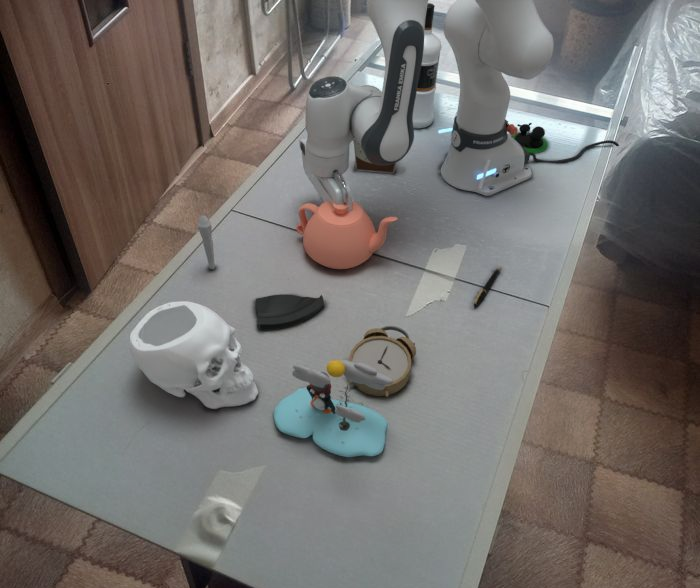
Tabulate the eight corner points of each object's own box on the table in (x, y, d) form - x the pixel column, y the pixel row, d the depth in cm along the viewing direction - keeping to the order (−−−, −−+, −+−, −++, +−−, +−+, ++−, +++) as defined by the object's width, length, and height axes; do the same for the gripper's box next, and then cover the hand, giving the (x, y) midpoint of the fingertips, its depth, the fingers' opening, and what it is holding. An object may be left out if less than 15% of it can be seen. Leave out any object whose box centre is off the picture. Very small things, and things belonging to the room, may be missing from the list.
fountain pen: (497, 267, 140) (498, 261, 139) (502, 269, 140) (504, 263, 139) (470, 308, 132) (472, 302, 131) (476, 310, 132) (477, 305, 131)
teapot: (403, 242, 144) (408, 196, 135) (380, 288, 135) (384, 241, 125) (310, 218, 149) (310, 171, 140) (282, 261, 139) (279, 213, 130)
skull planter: (247, 428, 109) (185, 346, 98) (166, 425, 120) (101, 350, 109) (283, 369, 118) (230, 287, 107) (204, 371, 129) (148, 297, 118)
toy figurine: (533, 129, 177) (538, 109, 172) (555, 148, 171) (561, 128, 167) (502, 136, 174) (506, 116, 170) (523, 156, 168) (528, 136, 164)
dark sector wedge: (328, 324, 128) (328, 318, 127) (258, 331, 126) (257, 325, 125) (322, 294, 133) (322, 288, 132) (254, 300, 131) (254, 294, 130)
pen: (216, 273, 136) (207, 219, 126) (203, 271, 137) (193, 217, 126) (220, 265, 138) (211, 211, 127) (208, 263, 138) (198, 209, 128)
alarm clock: (338, 375, 116) (370, 310, 123) (339, 388, 120) (370, 324, 127) (397, 396, 113) (426, 328, 120) (397, 409, 118) (425, 342, 125)
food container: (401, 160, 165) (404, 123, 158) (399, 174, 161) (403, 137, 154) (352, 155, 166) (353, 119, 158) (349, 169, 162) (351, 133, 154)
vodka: (402, 109, 181) (414, -6, 159) (435, 114, 180) (452, -1, 157) (395, 126, 175) (406, 9, 153) (429, 132, 174) (445, 15, 151)
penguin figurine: (264, 429, 112) (258, 373, 100) (293, 384, 118) (290, 327, 107) (372, 473, 107) (378, 420, 95) (396, 424, 113) (405, 369, 102)
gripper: (361, 183, 130) (358, 238, 140) (324, 130, 142) (323, 184, 152) (332, 190, 128) (331, 244, 139) (296, 136, 140) (298, 190, 151)
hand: (327, 212), depth 146 cm, fingers closed
